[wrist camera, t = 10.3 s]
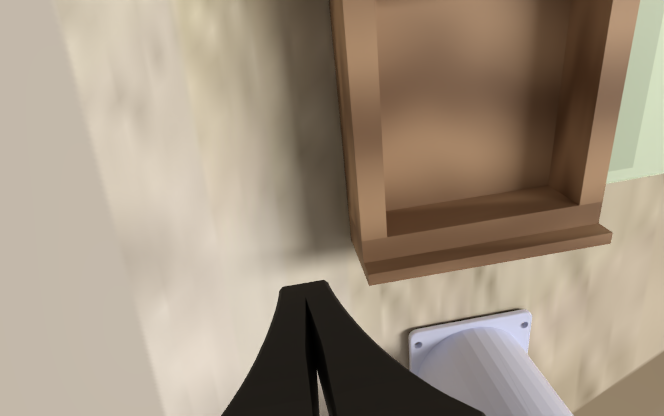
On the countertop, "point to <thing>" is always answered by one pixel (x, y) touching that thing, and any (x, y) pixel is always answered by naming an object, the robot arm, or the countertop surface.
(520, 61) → the box
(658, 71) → the lid
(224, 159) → the countertop surface
